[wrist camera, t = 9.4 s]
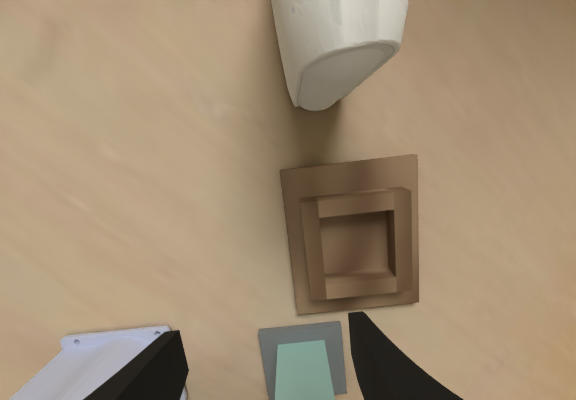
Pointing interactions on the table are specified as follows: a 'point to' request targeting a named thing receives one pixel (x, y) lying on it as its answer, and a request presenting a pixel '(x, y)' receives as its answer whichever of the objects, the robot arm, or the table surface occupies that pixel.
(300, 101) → the photo printer
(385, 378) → the robot arm
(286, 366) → the block
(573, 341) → the table surface
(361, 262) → the pocket board
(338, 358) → the pad
